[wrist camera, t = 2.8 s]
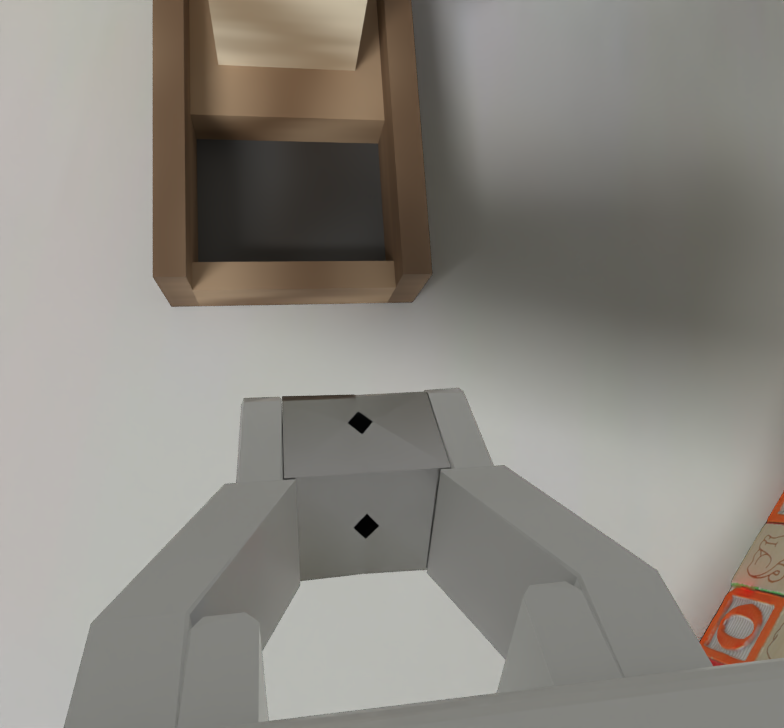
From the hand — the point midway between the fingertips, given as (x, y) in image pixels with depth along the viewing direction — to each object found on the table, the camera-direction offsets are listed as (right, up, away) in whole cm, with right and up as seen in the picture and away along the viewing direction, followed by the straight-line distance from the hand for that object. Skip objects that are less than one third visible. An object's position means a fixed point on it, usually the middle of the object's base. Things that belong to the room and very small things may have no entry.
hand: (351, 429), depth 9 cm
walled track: (-4, +16, +17) cm, 24 cm away
